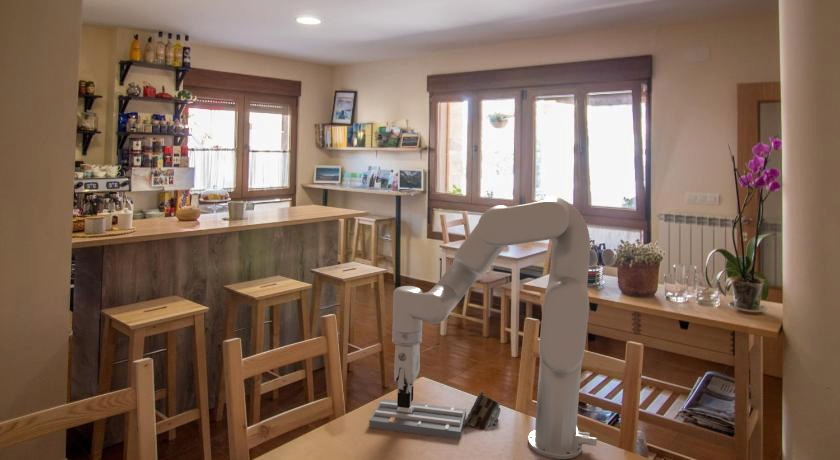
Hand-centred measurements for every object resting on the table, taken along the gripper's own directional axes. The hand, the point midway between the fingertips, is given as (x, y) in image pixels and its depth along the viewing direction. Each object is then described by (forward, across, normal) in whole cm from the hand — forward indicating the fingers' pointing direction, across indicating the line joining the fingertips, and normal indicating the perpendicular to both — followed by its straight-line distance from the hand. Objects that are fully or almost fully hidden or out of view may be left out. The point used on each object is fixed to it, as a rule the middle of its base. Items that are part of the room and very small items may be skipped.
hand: (405, 403), depth 139 cm
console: (+5, 0, -4) cm, 6 cm away
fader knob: (+2, 0, 0) cm, 2 cm away
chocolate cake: (+5, +5, -20) cm, 21 cm away
